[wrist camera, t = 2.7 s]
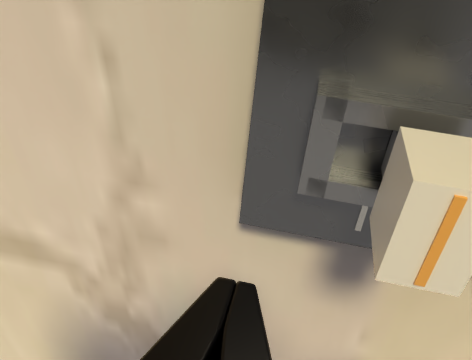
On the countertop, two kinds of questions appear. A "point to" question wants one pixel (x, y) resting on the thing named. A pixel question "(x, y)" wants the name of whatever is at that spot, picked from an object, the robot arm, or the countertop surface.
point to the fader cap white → (424, 212)
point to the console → (348, 105)
